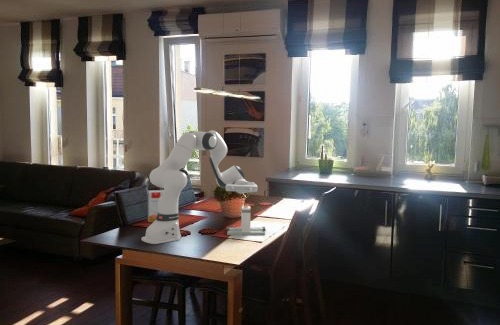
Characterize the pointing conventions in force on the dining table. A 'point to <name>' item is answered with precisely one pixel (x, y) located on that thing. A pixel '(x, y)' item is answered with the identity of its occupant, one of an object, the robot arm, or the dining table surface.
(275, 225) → the dining table surface
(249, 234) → the mounting board
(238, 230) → the rail
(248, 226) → the block
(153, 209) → the hard drive box
